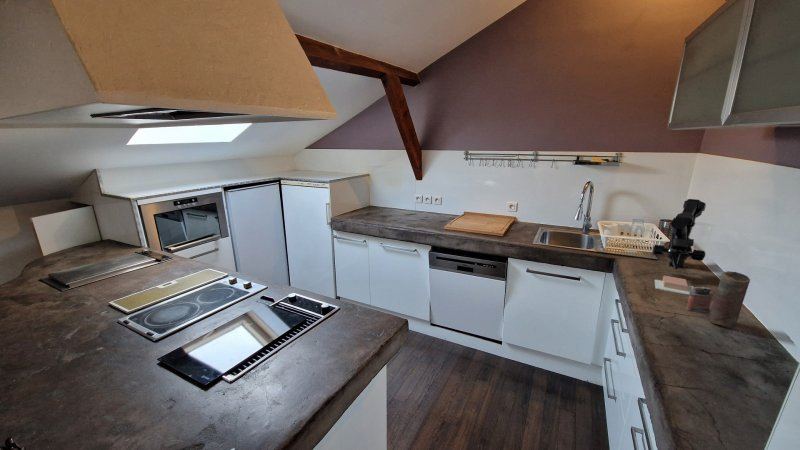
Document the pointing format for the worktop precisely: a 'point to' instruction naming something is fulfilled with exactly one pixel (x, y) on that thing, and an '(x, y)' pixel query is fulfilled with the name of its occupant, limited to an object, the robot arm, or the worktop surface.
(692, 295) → the lighter
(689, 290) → the mat
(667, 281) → the block
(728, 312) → the rusty brown metal cylinder
